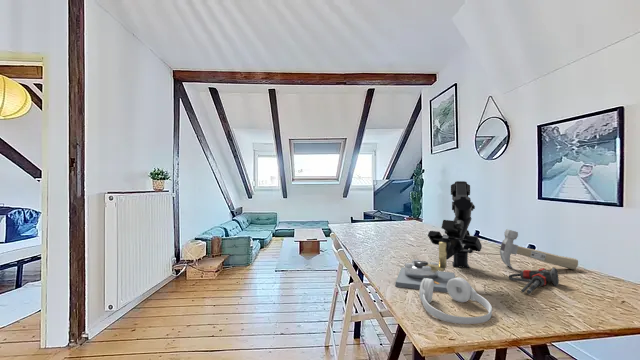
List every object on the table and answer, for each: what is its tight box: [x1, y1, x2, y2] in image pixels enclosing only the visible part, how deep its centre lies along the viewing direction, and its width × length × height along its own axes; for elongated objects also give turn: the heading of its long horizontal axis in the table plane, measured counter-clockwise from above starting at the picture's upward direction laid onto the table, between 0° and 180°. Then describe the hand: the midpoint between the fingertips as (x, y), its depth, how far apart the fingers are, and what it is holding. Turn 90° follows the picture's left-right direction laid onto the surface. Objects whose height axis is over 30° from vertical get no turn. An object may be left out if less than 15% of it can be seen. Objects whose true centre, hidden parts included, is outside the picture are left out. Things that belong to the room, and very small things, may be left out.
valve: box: [508, 267, 560, 295], centre depth 117 cm, size 6×26×15 cm
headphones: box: [418, 276, 493, 325], centre depth 94 cm, size 7×18×20 cm
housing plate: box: [395, 267, 456, 293], centre depth 120 cm, size 20×20×2 cm
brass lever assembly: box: [404, 242, 447, 279], centre depth 121 cm, size 15×12×13 cm
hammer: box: [499, 228, 579, 271], centre depth 138 cm, size 16×5×30 cm
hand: (445, 258), depth 118 cm, fingers closed, pressing on brass lever assembly
